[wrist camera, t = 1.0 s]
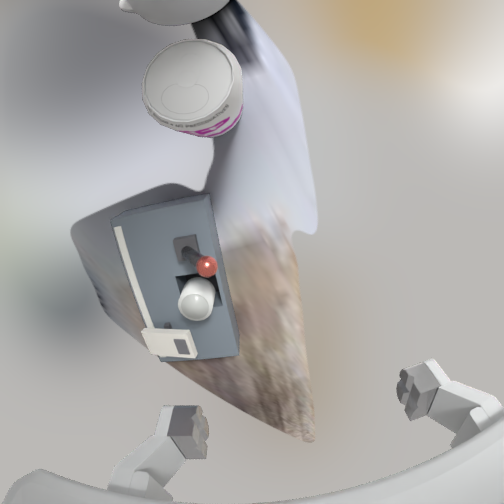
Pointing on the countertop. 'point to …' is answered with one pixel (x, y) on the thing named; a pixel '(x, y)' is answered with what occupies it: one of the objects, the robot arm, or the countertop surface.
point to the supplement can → (194, 88)
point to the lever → (200, 261)
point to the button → (197, 299)
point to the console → (176, 270)
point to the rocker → (170, 342)
